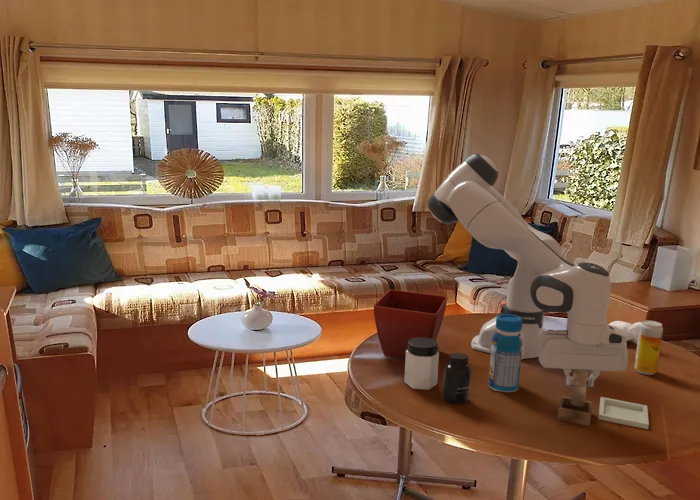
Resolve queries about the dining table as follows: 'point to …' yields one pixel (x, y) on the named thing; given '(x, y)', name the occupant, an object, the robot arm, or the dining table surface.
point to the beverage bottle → (506, 354)
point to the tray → (623, 412)
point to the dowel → (579, 387)
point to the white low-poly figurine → (628, 330)
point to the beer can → (648, 347)
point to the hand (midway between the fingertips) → (579, 385)
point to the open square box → (574, 412)
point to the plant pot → (407, 319)
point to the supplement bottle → (457, 379)
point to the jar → (421, 363)
